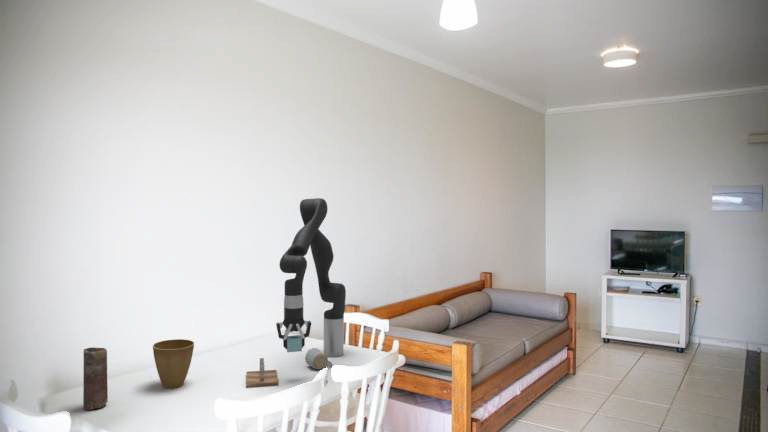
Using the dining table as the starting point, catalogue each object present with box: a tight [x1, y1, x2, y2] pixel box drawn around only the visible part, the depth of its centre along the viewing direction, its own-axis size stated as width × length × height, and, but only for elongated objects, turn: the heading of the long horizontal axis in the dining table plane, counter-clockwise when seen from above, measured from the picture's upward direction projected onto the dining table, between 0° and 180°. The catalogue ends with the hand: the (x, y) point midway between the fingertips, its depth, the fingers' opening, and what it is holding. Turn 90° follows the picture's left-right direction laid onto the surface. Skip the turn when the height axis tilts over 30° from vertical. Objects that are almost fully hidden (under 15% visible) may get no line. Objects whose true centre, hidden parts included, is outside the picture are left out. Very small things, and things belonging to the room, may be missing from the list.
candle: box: [82, 347, 109, 411], centre depth 185 cm, size 8×7×20 cm
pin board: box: [245, 357, 279, 389], centre depth 214 cm, size 16×12×7 cm
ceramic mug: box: [304, 347, 333, 371], centre depth 231 cm, size 11×8×8 cm
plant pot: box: [152, 338, 195, 389], centre depth 207 cm, size 15×15×16 cm
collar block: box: [286, 334, 303, 353], centre depth 214 cm, size 6×6×5 cm
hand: (293, 347), depth 214 cm, fingers closed on collar block, 5 cm apart
